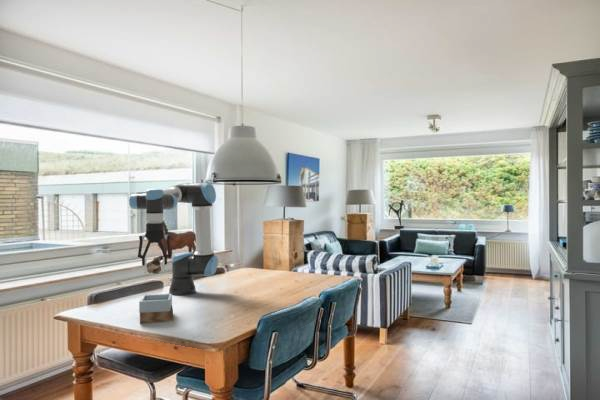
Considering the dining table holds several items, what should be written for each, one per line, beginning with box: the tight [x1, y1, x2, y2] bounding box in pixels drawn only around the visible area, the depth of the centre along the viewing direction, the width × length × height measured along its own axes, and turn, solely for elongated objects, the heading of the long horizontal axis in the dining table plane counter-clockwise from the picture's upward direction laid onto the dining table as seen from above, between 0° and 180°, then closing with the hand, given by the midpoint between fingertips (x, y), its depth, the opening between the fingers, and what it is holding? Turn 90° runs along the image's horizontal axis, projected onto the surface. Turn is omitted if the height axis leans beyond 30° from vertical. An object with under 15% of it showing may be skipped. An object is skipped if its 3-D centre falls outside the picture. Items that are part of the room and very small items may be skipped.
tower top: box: [138, 293, 173, 314], centre depth 193 cm, size 13×13×5 cm
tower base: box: [139, 305, 174, 325], centre depth 193 cm, size 14×14×5 cm
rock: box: [146, 255, 164, 275], centre depth 194 cm, size 9×7×10 cm
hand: (154, 272), depth 193 cm, fingers closed on rock, 7 cm apart
